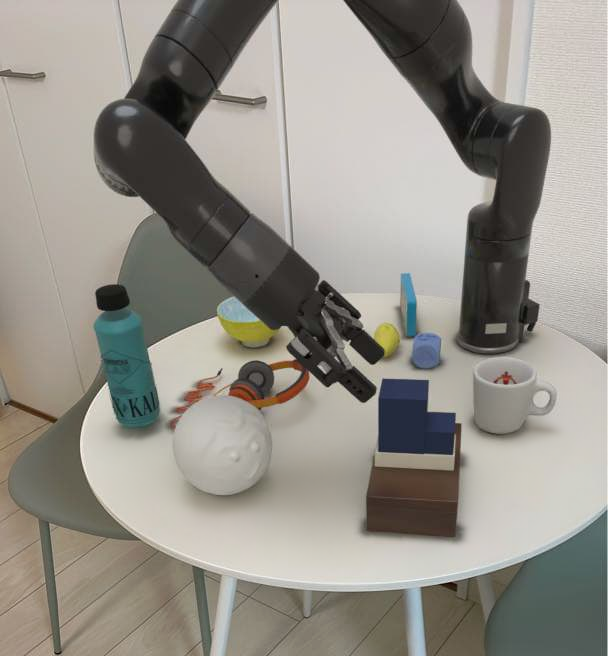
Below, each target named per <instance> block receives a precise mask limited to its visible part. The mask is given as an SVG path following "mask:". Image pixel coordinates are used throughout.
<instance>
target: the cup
mask: <svg viewBox="0 0 608 656" xmlns="http://www.w3.org/2000/svg"><path fill="white" fill-rule="evenodd" d="M537 377H538V371H537V369H536V368H535V367H534V366H533V365H532V364H531V363H530V362H528V361H526V360H523V359H522V358H521V359H520V358H517V357H510V356H496V357H495V356H494V357H490V358H489V357H488V358H486V359H483V360H481V361H479V362H478V363H477V364H475V366H474V368H473V370H472V386H473V387H472V392H473V393H472V395H473V396H472V397H473V398H472V399H473V400H472V401H473V418H474V421H475V424H476V425H477V426H478V428H480V429H481V430H483V431H485V432H487V433H491V434H497V435H504V434H505V435H506V434H511V433H514V432H516V431H518V430H519V429H520V428H521V427H522V426H523V424H524V423H525V420H526V419H527V417H528V416H537V417H539V416H541V417H542V416H546V415H548V414H550V413H551V412H552V411H553V409H554V407H555V406H556V402H557V396H558V393H557V389H556V387H555V386H554V385H553V383H550V382H549V381H545V380H542V379H539V378H537ZM542 391H543V392H546V393H547V394H548V395H549V400H548V402H547V404H546V405H544V406H543V407H542V406H541V407H539V406H537V405H536V404H535V402H534V397H535V396H536V394H537V393H538V392H542Z"/></svg>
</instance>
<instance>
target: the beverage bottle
mask: <svg viewBox="0 0 608 656" xmlns="http://www.w3.org/2000/svg"><path fill="white" fill-rule="evenodd" d="M94 296H95V300H96V302H95V304H96V308H97V309H98V310H99V311H102V312H101V313H100V314H99V315H98V317H97V318H96V319H95V320H94V323H93V330H94V332H95V333H94V334H95V337H96V340H97V345H98V348H99V354H100V358H99V359H100V361H101V362H102V363H101V364H102V366H103V367H102V368H103V372H104V377H105V381H106V385H107V387H108V390H109V399H110V402H111V406H112V410H113V415H114V416H115V419H116V421H117V422H118V423H119V424H120V425H121V426H123V427H127V428H141V427H145V426H148V425H150V424H153V423H154V422H155V421H157V419H159V417H160V414H161V408H162V406H161V404H160V403H161V402H160V399H159V393H158V389H157V383H156V378H155V375H154V370H153V365H152V364H153V363H152V362H151V360H150V355H149V354H150V353H149V350H148V344H147V340H146V335H145V331H144V330H145V329H144V327H143V320H142V319H143V318H142V317H141V316H140V315H139V314H138V313H136V312H135V311H133V310H131V309H128V308H127V307H128V306H130V304H131V301H130V297H129V295H128V292H127V289H126V286H124V285H123V284H116V283H114V284H106V285H102V286H100V287H98V288H97V289H96V290H95V292H94Z"/></svg>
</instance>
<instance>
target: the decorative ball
mask: <svg viewBox="0 0 608 656" xmlns="http://www.w3.org/2000/svg"><path fill="white" fill-rule="evenodd" d="M199 400H200V401H198V402H194V403H192V404H191V405H192V406H191V407H187V408H186V409H187V410H184V412H183V413H182V414H181V415H182V416H181V415H180V416H181V417H180V418H179V420H178V422H177V423H176V425H175V426H176V428H174V430H173V431H174V432H173V436H172V452H173V453H172V454H173V457H174V462H175V464H176V466H177V468H178V470H179V471H180V473H181V475H182V476H183V478H185V480H187V482H189V483H190V485H192V486H194V487H195V488H197V489H198V490H200V491H202V492H204V493H207V494H210V495H216V496H232V495H236V494H239V493H242V492H245V491H246V490H248V489H250V488H251V487H253V486H254V485H255V484H257V483H258V481H260V480H261V478H262V477H263V476H264V474H265V473H266V471H267V470H268V467H269V465H270V463H271V459H272V456H273V437H272V432H271V429H270V427H269V423H268V421H267V419H266V417H265V416H264V414H263V413H262V411H261V410H258V409H257V408H256V407H255V406H253V405H252V404H250V403H248V402H246V401H244V400H242V399H240V398H237V397H233V396H228V395H226V394H224V395H223V394H220V395H218V394H217V395H215V396H213V395H211V396H208V397H205V398H201V399H199Z"/></svg>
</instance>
